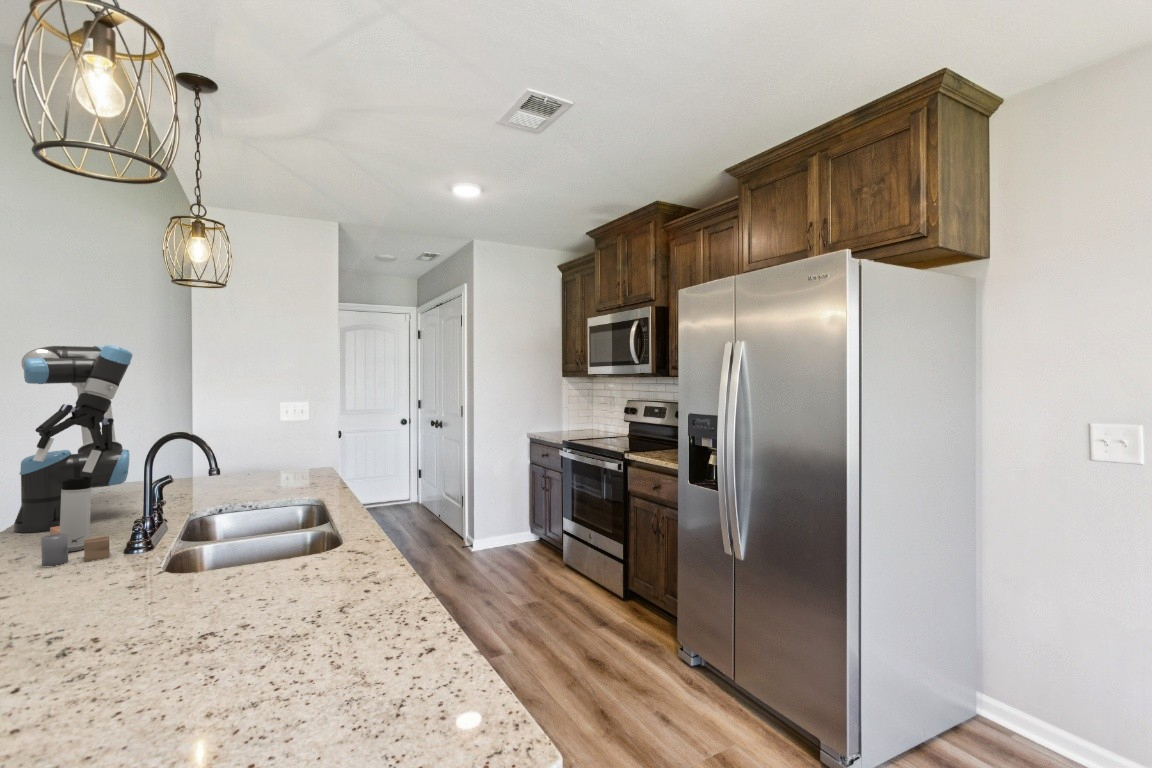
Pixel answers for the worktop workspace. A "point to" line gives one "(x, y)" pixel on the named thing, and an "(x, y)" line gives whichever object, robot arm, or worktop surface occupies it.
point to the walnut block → (96, 548)
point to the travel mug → (76, 511)
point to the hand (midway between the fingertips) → (63, 466)
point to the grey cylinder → (54, 549)
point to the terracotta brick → (54, 530)
